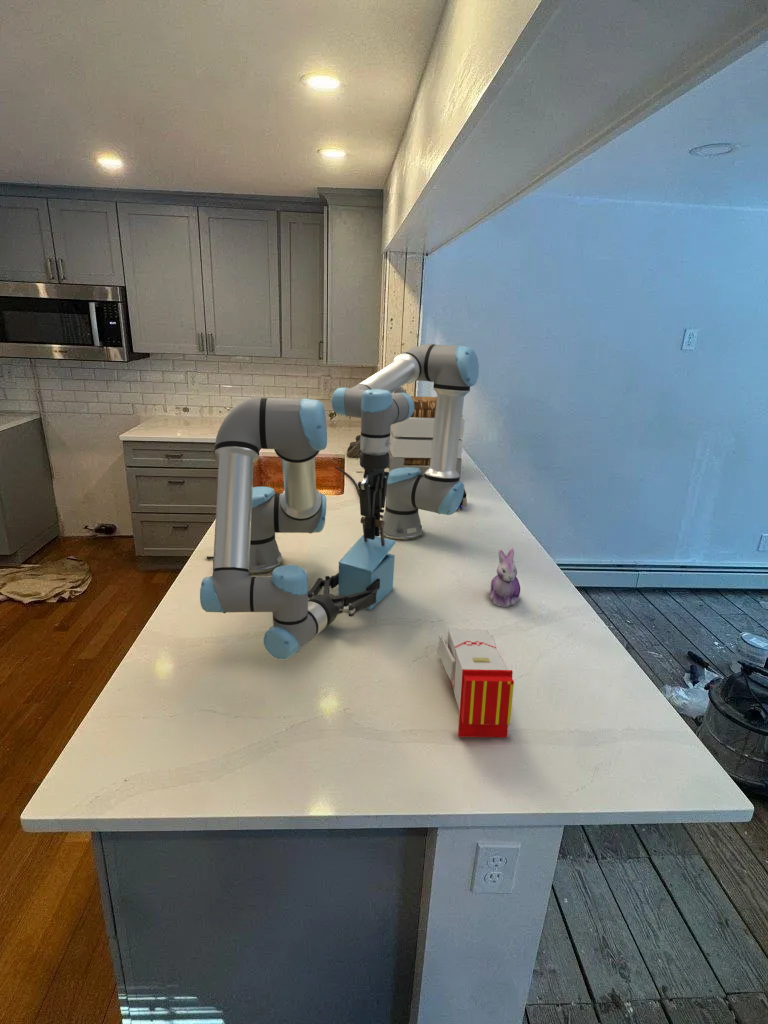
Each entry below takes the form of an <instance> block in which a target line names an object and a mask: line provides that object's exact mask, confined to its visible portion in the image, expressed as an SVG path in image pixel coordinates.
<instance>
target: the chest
mask: <svg viewBox="0 0 768 1024" xmlns="http://www.w3.org/2000/svg"><path fill="white" fill-rule="evenodd" d="M395 558H396V555H395V554H393V553H392V554H391V553H389V552H388V553H387V555H386V556H385V557H384V558H383V560H382V561H381V562H380V563H379V565H378V566H377V567H376V568H375V570H374V571H373V572H372V573H369V572H365V571H361V570H357V569H353V568H350V567H346V566H342V565H339V564H338V573H339V580H338V585H337V587H338V588H337V596H341V595H347V596H348V595H352V594H355V593H359V592H363V591H366V588H367V587H368V586H369V585H370V584H372V583H373V582H374V581H375V580H376V579H380V588H379V589H378V590H377V593H376V594H377V595H376V603H375V604H373V605H371V606H369V607H367V608H365V609H366V610H368V611H371V610H372V609H373V608H374V607H375V606H377V605H378V604H379V603H380V602H381V601H382V600H383V599H384V598H385V597H386V596H388V594H389V593H391V592H392V591H393V590H394V578H395V577H394V575H395V560H396V559H395ZM343 602H344V599H343ZM365 609H364V610H365Z"/></svg>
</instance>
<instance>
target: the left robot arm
mask: <svg viewBox="0 0 768 1024" xmlns="http://www.w3.org/2000/svg"><path fill="white" fill-rule="evenodd" d="M327 447H328V428H327V417H326V409H325V407H324V404H323V402H321V401H320V400H318V399H311V398H310V399H309V398H306V397H302V398H289V397H288V398H287V397H285V398H282V397H280V398H279V397H250V398H247V399H245V400H243V401H241V402H240V403H238V404H237V405H236V406H234V407H233V408H232V409H231V410H230V411H229V413H227V415H226V416H225V418H224V419H223V421H222V422H221V424H220V427H219V429H218V430H217V434H216V436H215V442H214V456H215V458H216V459H218V470H217V471H218V472H217V473H218V474H217V487H216V488H217V489H216V506H215V507H216V508H215V523H214V542H213V556H206V559H208V560H212V575H209V576H205V577H203V579H202V581H201V583H200V589H199V601H200V607H201V609H202V610H203V611H205V612H206V613H223V614H226V613H272V626H271V627H269V629H268V630H266V632H265V633H264V636H263V637H262V640H263V641H262V642H263V646H264V648H265V650H266V652H267V653H268V654H269V655H270V656H271V657H272V658H274V659H277V660H280V661H284V660H287V659H289V658H291V657H292V656H294V655H295V654H297V653H298V652H300V650H301V649H302V648H303V647H305V646H306V645H307V644H308V643H310V641H311V640H313V639H314V638H315V637H316V636H317V635H318V634H320V633H321V632H322V631H323V630H325V628H327V627H328V626H329V625H330V624H331V623H333V622H334V621H335V619H336V618H337V616H338V615H340V614H342V613H347V614H348V617H354V616H355V615H356V614H357V613H359V612H360V611H363V610H365V608H367V607H369V606H371V605H373V604H375V603H376V595H377V594H376V593H377V590H378V589H379V588H380V579H376V580H375V581H374V582H373V583H372V584H370V585H369V586H368V587H367V588H366V591H363V592H359V593H355V594H352V595H348V596H347V595H341V596H338V595H335V594H333V593H330V590H331V589H335V588H336V587H338V580H339V572H337V573H336V574H334V575H331V576H330V575H325V576H324V579H323V578H322V577H318V578H317V579H316V581H315V582H314V584H313V585H312V586H311V588H310V589H309V583H308V574H307V571H306V570H305V569H304V568H303V567H302V566H299V565H296V564H285V565H282V564H283V556H282V553H281V552H280V549H279V545H278V543H277V540H276V534H277V533H278V534H281V533H282V534H284V533H285V534H287V533H288V534H289V533H291V534H295V533H297V534H300V533H301V534H315V533H321V532H322V531H323V530H324V527H325V525H326V516H327V497H326V495H325V494H324V493H320V492H319V490H318V489H317V480H316V479H317V477H316V476H317V475H316V474H317V473H316V472H317V471H316V457H317V456H318V455H319V453H320V452H321V451H324V450H325V449H326V448H327ZM260 449H261V450H274V452H275V454H276V456H277V457H279V459H280V462H281V470H282V471H281V472H282V478H283V489H284V490H283V492H281V493H276V492H275V490H274V488H272V487H270V486H253V485H254V463H255V461H257V460H258V459H259V454H260V453H259V451H260ZM270 572H271V576H250V575H259V574H260V575H261V574H267V573H270ZM330 588H331V589H330ZM322 589H323V593H322V594H319V593H320V592H321V590H322ZM343 599H344V602H343Z"/></svg>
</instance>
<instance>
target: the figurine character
mask: <svg viewBox="0 0 768 1024" xmlns="http://www.w3.org/2000/svg"><path fill="white" fill-rule="evenodd" d="M467 503H468V498H467V492H466V489H465V488H464V494H463V498H462V501H461V503H460V505H459V507H458V509H460V511H463V507H464V508H465V507H467Z"/></svg>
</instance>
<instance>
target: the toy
mask: <svg viewBox="0 0 768 1024" xmlns="http://www.w3.org/2000/svg"><path fill="white" fill-rule="evenodd" d="M446 640H447V643H446V641H445V639H444V636H443V635H442V634H439V637H438V646H437V656H438V657H439V659H440V661H441V663H442V666H443V668H444V670H445V672H446V674H447V677H448V679H449V681H450V684H451V687H452V690H453V693H454V697H455V701H456V705H457V708H458V711H459V714H458V715H459V716H458V730H457V731H458V732H457V737H458V738H508V731H509V726H510V725H511V717H512V707H513V697H514V696H513V695H514V684H515V680H514V679H513V673H514V671H513V670H512V669H508V667H507V665H506V662H505V661H504V659H503V658H502V655H501V653H500V651H499V649H498V647H497V643H496V639H495V637H494V635H493V634H491V632H490V631H489V629H467V628H466V629H465V628H463V629H461V628H460V629H459V628H448V630H447V639H446Z"/></svg>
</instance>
